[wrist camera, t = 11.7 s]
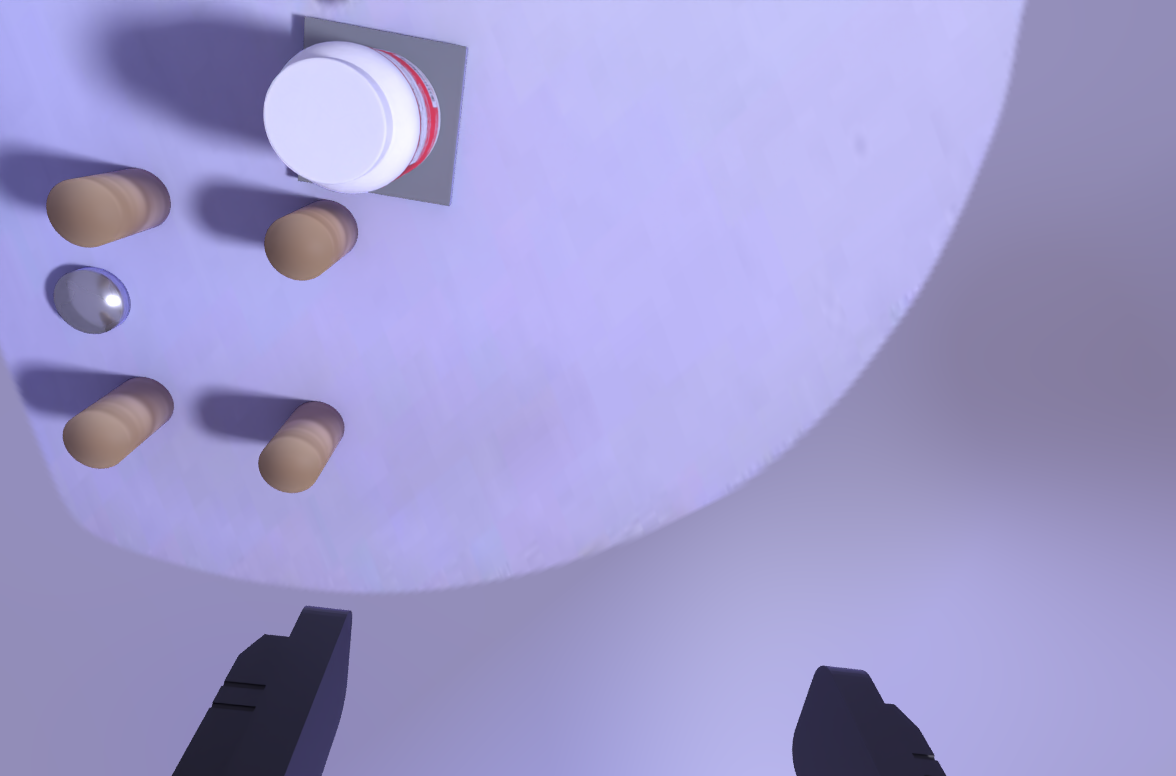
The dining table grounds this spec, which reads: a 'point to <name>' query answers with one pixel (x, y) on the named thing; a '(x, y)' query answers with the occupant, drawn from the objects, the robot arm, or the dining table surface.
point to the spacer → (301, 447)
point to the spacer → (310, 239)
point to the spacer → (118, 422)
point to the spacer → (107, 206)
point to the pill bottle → (351, 116)
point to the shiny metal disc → (91, 300)
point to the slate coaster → (447, 80)
